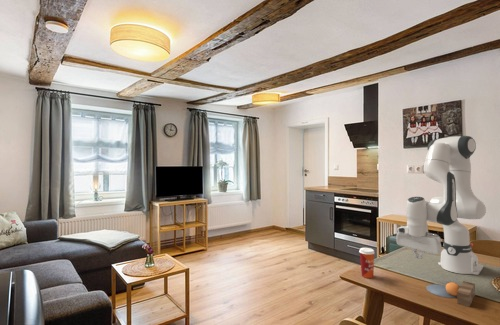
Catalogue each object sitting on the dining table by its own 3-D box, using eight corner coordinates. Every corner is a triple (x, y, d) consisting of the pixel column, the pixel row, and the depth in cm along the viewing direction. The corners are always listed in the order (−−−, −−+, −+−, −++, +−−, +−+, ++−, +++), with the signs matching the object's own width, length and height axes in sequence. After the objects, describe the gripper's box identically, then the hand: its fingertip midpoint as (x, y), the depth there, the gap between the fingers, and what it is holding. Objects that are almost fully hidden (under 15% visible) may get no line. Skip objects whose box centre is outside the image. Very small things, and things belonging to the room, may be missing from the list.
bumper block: (463, 292, 128) (463, 281, 128) (475, 295, 125) (474, 283, 125) (457, 303, 118) (457, 291, 118) (469, 307, 115) (469, 294, 115)
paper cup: (368, 280, 143) (367, 252, 143) (356, 275, 150) (355, 248, 150) (379, 277, 147) (378, 250, 147) (366, 272, 154) (366, 246, 154)
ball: (448, 290, 129) (448, 278, 129) (463, 295, 125) (462, 282, 125) (443, 295, 126) (443, 283, 126) (458, 299, 122) (457, 287, 121)
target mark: (435, 282, 139) (435, 282, 139) (466, 292, 127) (466, 292, 127) (420, 289, 132) (420, 289, 132) (452, 300, 121) (452, 300, 121)
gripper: (443, 233, 132) (445, 262, 132) (400, 225, 149) (402, 251, 149) (436, 236, 128) (438, 266, 129) (393, 227, 146) (395, 254, 146)
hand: (418, 258), depth 139 cm, fingers closed
